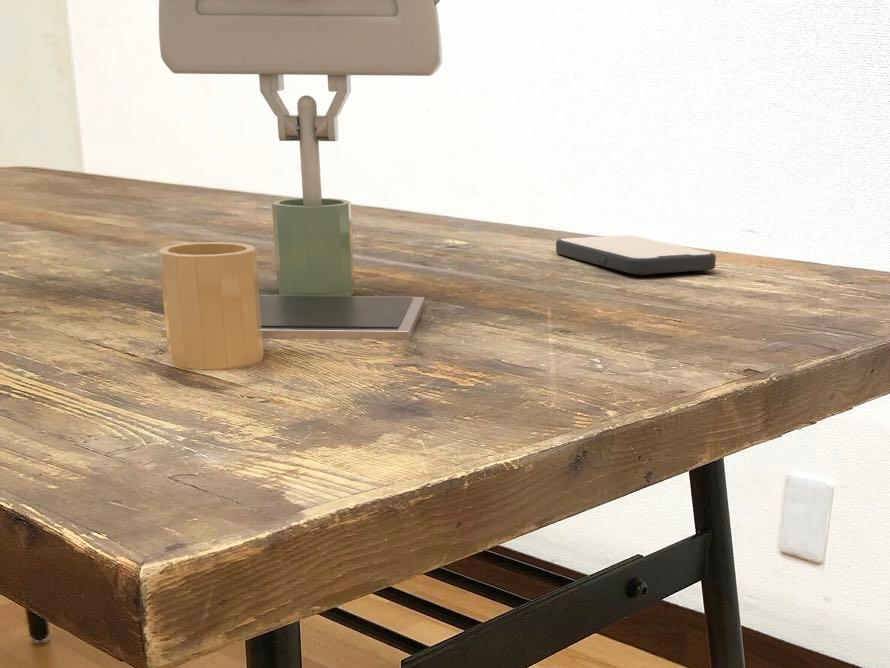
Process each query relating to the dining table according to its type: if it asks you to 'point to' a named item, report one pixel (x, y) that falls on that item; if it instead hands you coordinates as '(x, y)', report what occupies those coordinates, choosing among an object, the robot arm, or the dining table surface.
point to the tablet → (338, 317)
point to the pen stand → (211, 305)
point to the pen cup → (313, 248)
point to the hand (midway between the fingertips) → (308, 140)
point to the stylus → (309, 152)
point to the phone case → (636, 254)
